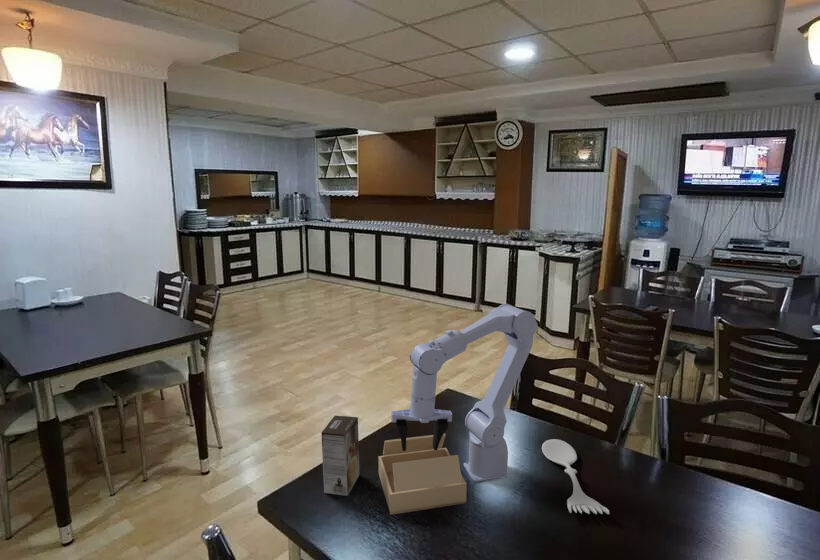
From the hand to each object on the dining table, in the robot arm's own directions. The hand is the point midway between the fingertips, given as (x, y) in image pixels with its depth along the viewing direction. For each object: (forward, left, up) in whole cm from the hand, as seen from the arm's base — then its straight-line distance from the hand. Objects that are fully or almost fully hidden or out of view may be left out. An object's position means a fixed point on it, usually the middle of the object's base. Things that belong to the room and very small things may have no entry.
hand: (419, 448), depth 113 cm
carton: (0, 0, -11) cm, 10 cm away
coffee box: (+18, -6, -11) cm, 22 cm away
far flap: (0, -6, -3) cm, 7 cm away
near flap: (0, +6, -3) cm, 7 cm away
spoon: (-38, +5, -11) cm, 40 cm away
